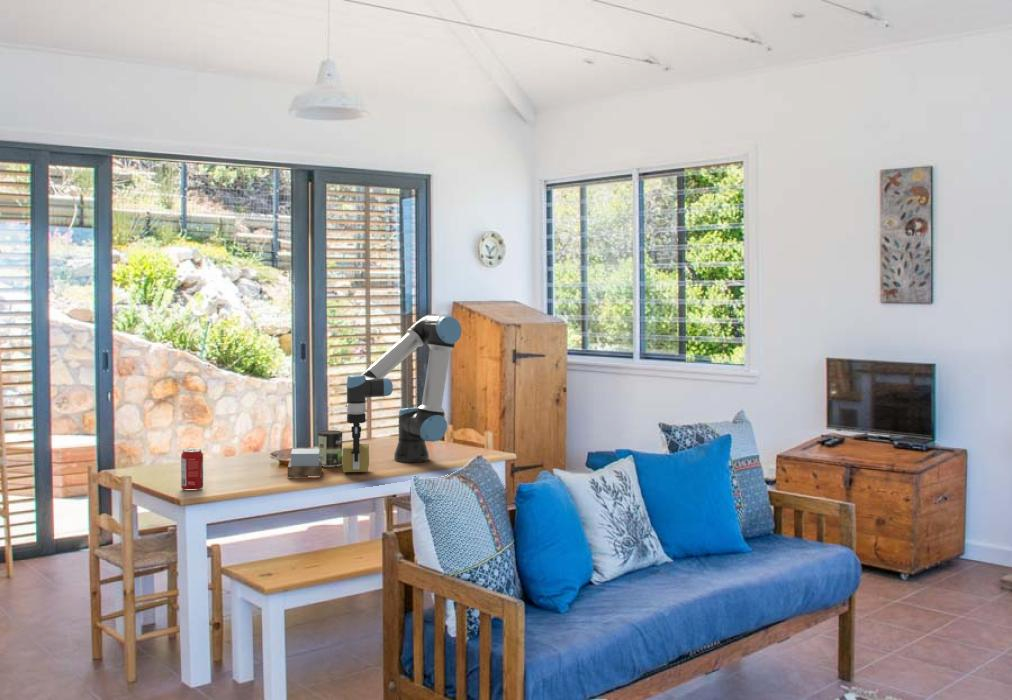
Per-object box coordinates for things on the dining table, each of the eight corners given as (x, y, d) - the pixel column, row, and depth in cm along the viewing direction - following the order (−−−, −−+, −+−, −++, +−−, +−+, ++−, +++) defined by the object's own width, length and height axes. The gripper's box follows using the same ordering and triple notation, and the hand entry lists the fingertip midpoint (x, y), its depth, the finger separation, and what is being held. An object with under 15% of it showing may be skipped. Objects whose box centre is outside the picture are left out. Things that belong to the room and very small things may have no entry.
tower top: (319, 460, 417) (319, 448, 416) (318, 465, 406) (319, 453, 406) (292, 460, 415) (292, 448, 415) (290, 466, 404) (290, 453, 404)
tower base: (321, 472, 418) (322, 460, 418) (320, 479, 405) (320, 466, 405) (289, 472, 416) (289, 460, 416) (287, 479, 403) (287, 466, 403)
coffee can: (345, 463, 436) (346, 430, 435) (337, 467, 426) (337, 434, 424) (323, 461, 438) (323, 429, 437) (313, 466, 428) (314, 433, 427)
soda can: (177, 491, 376) (177, 451, 375) (187, 486, 384) (187, 447, 383) (197, 492, 375) (197, 452, 374) (206, 487, 383) (206, 448, 382)
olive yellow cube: (344, 467, 421) (343, 443, 420) (370, 467, 422) (370, 443, 421) (342, 472, 411) (342, 448, 410) (369, 472, 412) (369, 448, 411)
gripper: (347, 408, 425) (347, 461, 427) (346, 417, 403) (346, 472, 405) (365, 408, 426) (365, 460, 428) (365, 417, 404) (365, 472, 406)
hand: (356, 466), depth 416 cm, fingers closed on olive yellow cube, 10 cm apart
